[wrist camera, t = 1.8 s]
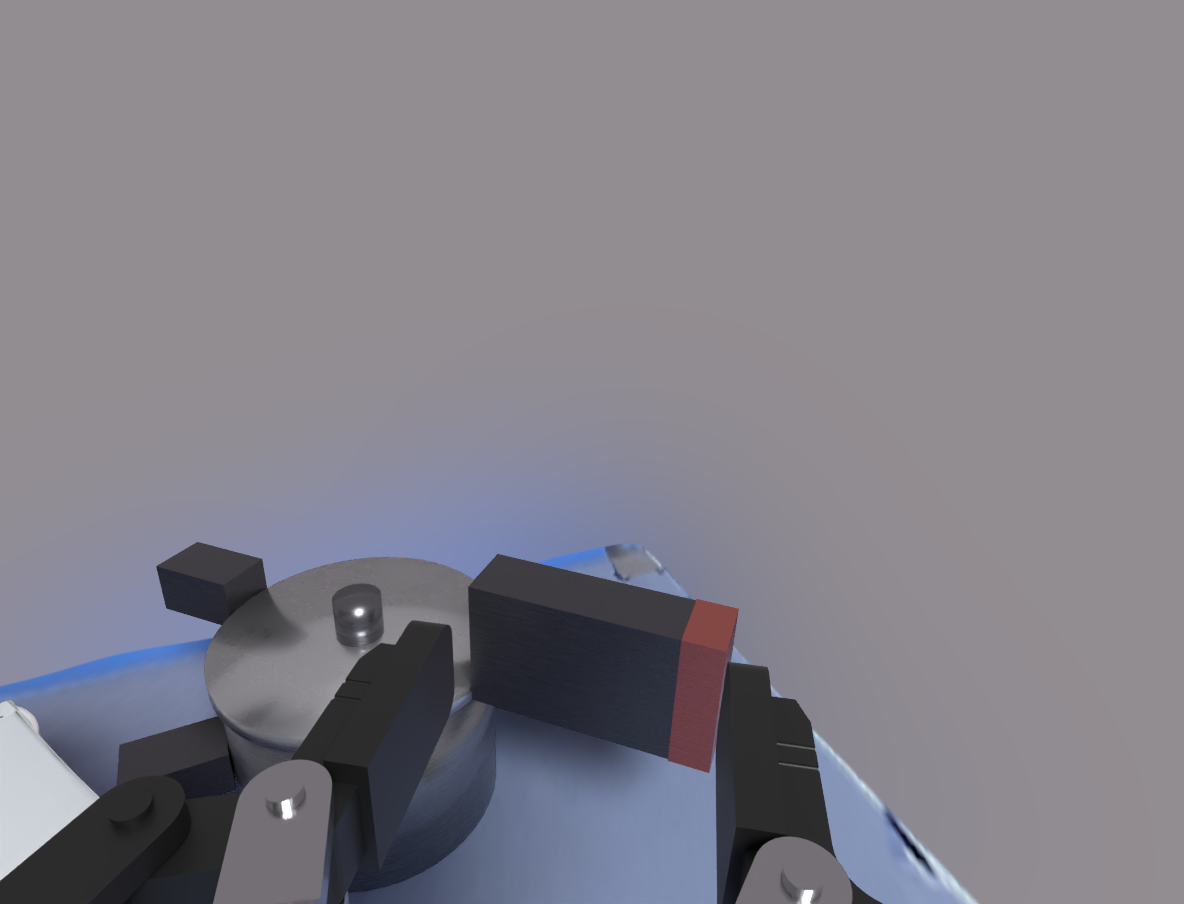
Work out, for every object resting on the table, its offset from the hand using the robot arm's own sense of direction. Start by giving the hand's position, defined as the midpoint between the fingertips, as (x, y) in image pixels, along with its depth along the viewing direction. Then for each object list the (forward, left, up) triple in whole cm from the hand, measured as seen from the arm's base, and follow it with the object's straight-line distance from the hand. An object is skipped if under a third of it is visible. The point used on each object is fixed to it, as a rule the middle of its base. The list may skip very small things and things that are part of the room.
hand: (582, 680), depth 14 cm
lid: (-13, +19, -18) cm, 29 cm away
